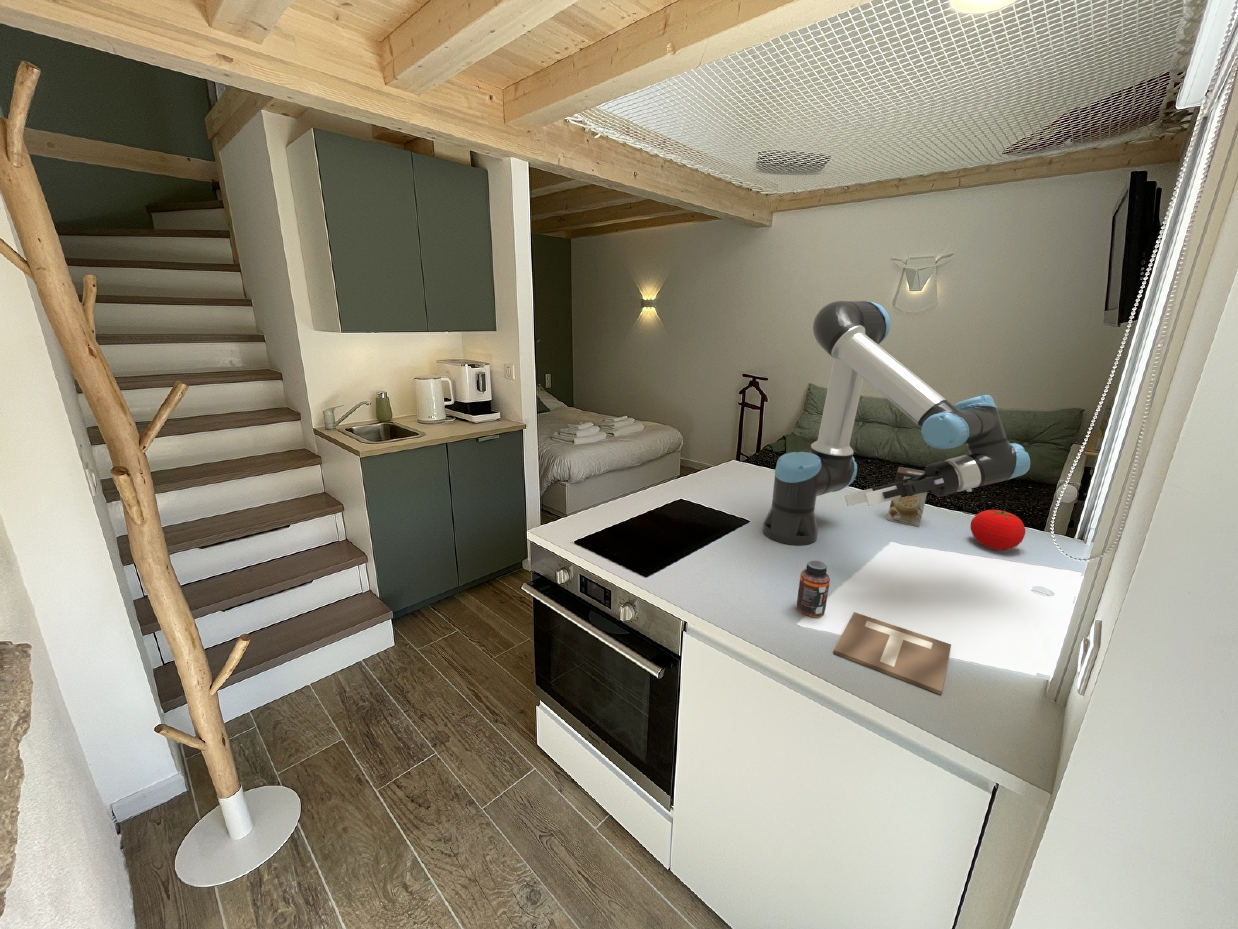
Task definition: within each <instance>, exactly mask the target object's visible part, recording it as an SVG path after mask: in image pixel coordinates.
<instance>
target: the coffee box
mask: <svg viewBox="0 0 1238 929" xmlns="http://www.w3.org/2000/svg"><path fill="white" fill-rule="evenodd" d="M923 474H925V470H920V469H914V468H909V467H903V466H898V468H897V471H896V476H895V480H894V483H896V482H899V481H900V480H903V479H908V478H911V477H913V476H916V475H923ZM927 495H928V492H925V493H919V494H915V495H913V496H906V497H901V495H899V496H900V498H898V499H894V500H890V504H889V508H888V514H887V517H886V520H887V521H890V522H895V523H900V524H904V525H909V526H913V527H918V528H919V527H921V521H922V518H923V514H924V507H925V503H926V501H927V500H926V499H927Z"/></svg>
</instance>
